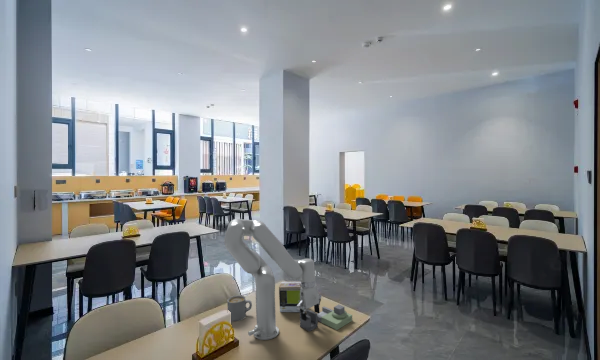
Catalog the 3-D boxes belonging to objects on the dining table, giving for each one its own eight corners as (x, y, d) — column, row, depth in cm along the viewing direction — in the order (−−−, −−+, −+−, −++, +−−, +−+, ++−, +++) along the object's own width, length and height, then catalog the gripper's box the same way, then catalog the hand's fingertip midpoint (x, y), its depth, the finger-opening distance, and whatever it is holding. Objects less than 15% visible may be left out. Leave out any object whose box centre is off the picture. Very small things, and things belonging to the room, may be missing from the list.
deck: (336, 330, 141) (336, 315, 141) (310, 317, 155) (310, 304, 154) (352, 320, 150) (352, 306, 150) (326, 309, 163) (326, 296, 163)
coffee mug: (226, 321, 152) (226, 303, 152) (229, 313, 162) (228, 296, 162) (251, 319, 154) (251, 301, 154) (252, 311, 164) (251, 294, 164)
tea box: (306, 305, 170) (305, 280, 170) (305, 313, 160) (304, 287, 160) (282, 304, 172) (281, 280, 172) (279, 312, 162) (278, 286, 162)
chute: (309, 331, 140) (309, 317, 140) (300, 326, 146) (299, 313, 146) (317, 327, 145) (317, 313, 144) (308, 322, 150) (307, 309, 150)
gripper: (301, 290, 136) (303, 325, 137) (324, 279, 148) (327, 311, 148) (291, 287, 142) (293, 320, 142) (314, 276, 154) (316, 307, 154)
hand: (310, 316), depth 145 cm, fingers open, 9 cm apart
